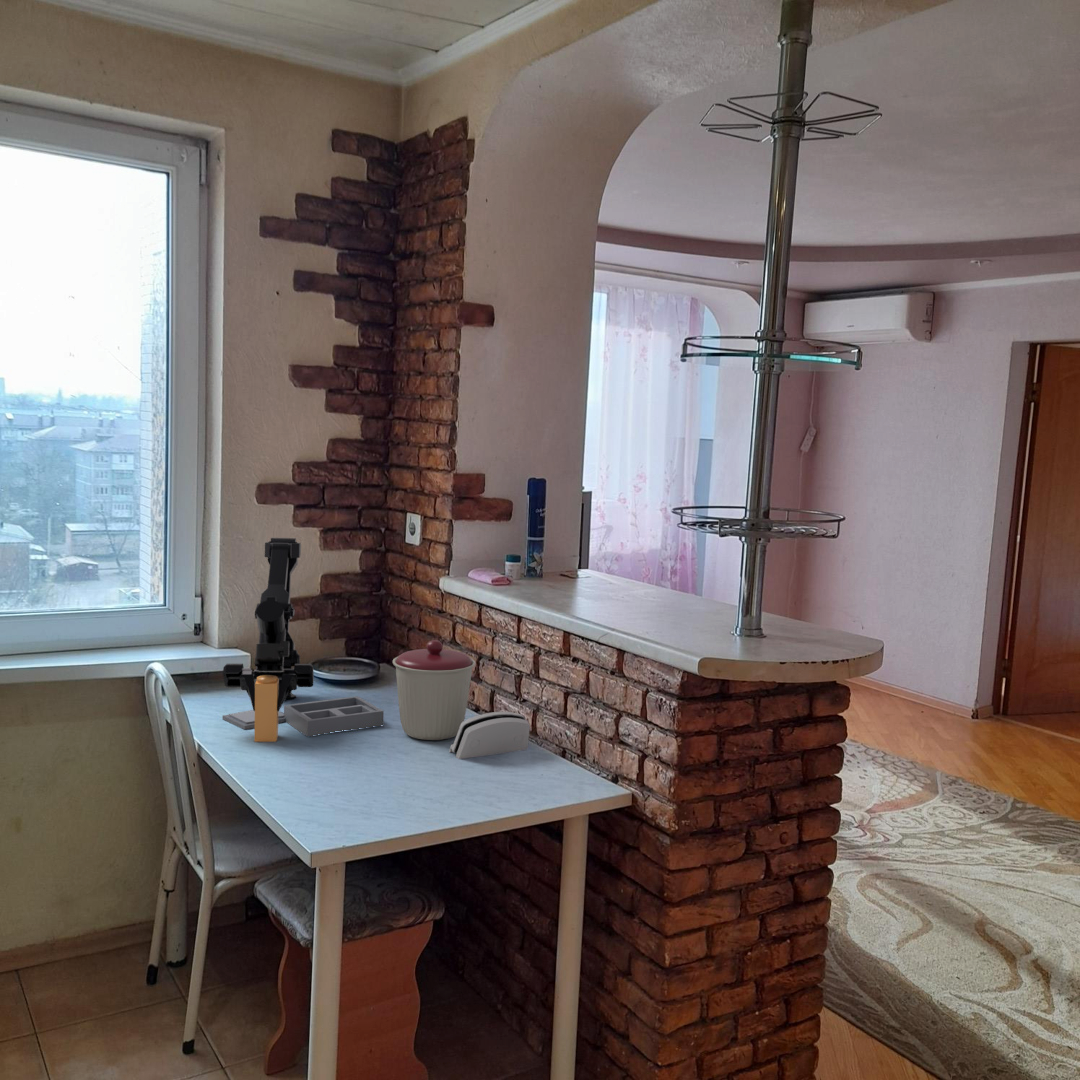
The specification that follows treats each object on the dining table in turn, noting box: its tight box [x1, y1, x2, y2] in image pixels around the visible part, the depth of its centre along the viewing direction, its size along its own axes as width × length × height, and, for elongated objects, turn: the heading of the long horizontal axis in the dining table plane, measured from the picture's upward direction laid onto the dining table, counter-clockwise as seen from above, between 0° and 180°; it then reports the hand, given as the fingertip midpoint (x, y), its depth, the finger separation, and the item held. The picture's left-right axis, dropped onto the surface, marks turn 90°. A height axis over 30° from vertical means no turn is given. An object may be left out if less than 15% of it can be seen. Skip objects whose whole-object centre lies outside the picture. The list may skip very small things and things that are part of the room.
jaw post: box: [253, 675, 279, 743], centre depth 220 cm, size 4×4×13 cm
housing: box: [283, 695, 385, 737], centre depth 233 cm, size 14×18×4 cm
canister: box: [392, 639, 476, 741], centre depth 227 cm, size 18×18×21 cm
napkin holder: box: [448, 711, 531, 760], centre depth 217 cm, size 17×5×10 cm, turn 120°
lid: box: [222, 709, 287, 730], centre depth 233 cm, size 10×12×1 cm
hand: (266, 710), depth 218 cm, fingers closed on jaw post, 4 cm apart
